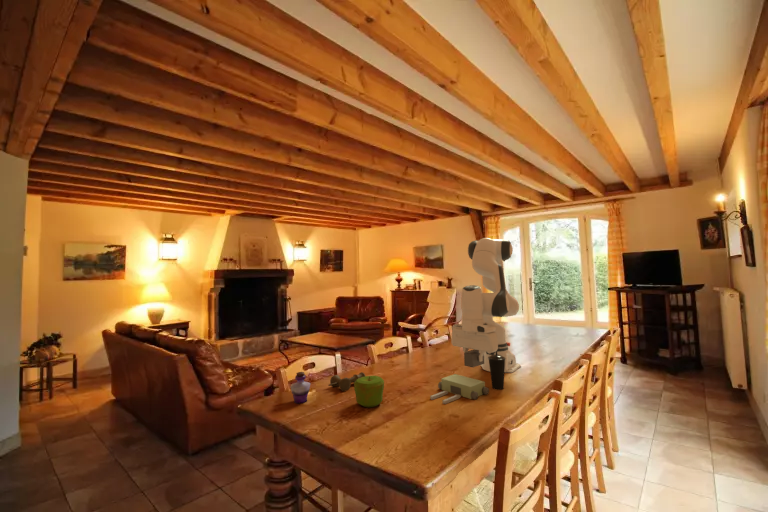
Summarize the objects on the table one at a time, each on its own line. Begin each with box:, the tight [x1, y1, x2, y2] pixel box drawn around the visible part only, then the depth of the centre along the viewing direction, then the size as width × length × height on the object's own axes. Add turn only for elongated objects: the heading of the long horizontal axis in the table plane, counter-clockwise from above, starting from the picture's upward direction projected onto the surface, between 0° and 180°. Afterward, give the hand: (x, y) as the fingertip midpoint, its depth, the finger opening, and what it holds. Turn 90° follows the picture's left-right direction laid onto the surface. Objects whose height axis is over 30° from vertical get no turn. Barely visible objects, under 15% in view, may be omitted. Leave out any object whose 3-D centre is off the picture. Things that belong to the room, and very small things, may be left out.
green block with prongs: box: [429, 373, 490, 405], centre depth 149 cm, size 22×19×5 cm
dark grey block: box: [463, 349, 484, 368], centre depth 140 cm, size 8×4×6 cm, turn 131°
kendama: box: [328, 371, 366, 392], centre depth 163 cm, size 6×10×20 cm
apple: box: [353, 375, 385, 408], centre depth 140 cm, size 12×12×11 cm
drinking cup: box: [488, 351, 506, 391], centre depth 156 cm, size 8×8×20 cm
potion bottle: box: [290, 371, 311, 405], centre depth 146 cm, size 9×9×12 cm
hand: (474, 360), depth 140 cm, fingers closed on dark grey block, 4 cm apart
